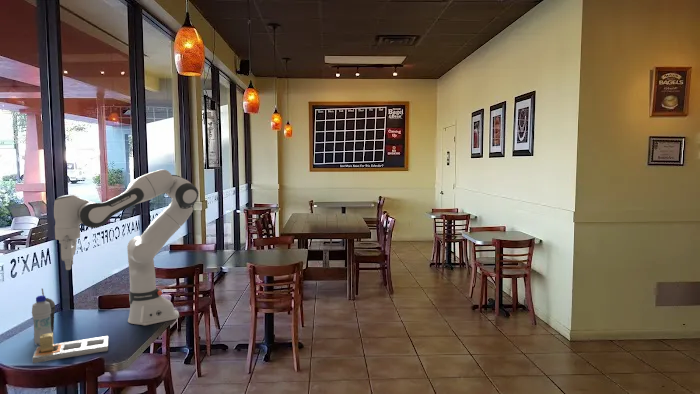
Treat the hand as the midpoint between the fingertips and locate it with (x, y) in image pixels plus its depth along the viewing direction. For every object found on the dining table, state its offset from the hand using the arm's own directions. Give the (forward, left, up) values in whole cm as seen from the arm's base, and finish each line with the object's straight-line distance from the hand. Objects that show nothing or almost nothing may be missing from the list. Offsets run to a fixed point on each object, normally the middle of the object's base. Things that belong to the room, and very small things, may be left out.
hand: (69, 267), depth 196 cm
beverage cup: (+11, -14, -31) cm, 36 cm away
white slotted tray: (-1, +13, -31) cm, 34 cm away
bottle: (+11, -2, -31) cm, 33 cm away
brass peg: (+8, +13, -31) cm, 35 cm away
